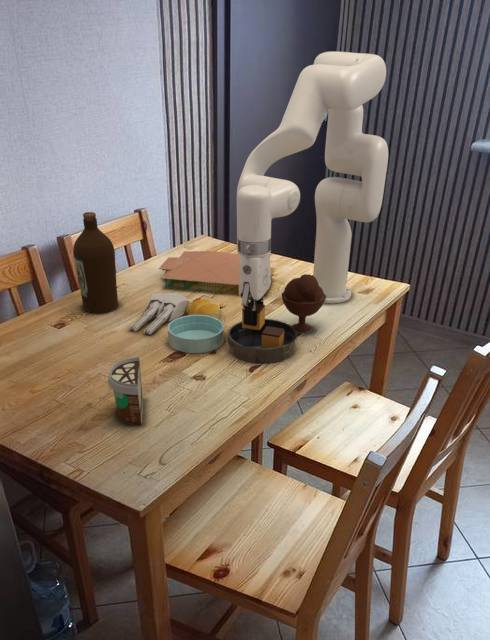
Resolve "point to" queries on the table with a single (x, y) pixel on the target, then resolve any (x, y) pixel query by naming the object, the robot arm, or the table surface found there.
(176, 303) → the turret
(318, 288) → the ice cream bowl
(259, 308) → the snack cake
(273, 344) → the snack cake
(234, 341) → the charcoal bowl
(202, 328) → the blue bowl
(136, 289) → the table surface
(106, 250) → the olive oil
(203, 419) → the table surface
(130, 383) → the food container
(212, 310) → the bread roll
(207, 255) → the house
